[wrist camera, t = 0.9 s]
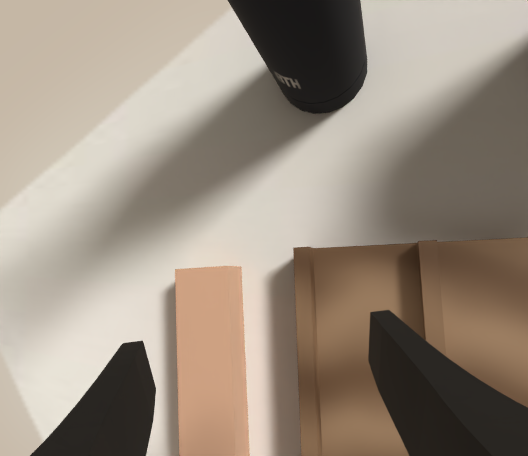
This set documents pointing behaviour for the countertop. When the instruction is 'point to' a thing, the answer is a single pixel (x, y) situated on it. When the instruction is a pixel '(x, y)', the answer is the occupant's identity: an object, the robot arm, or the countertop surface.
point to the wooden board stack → (411, 313)
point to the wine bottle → (309, 48)
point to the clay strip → (211, 362)
